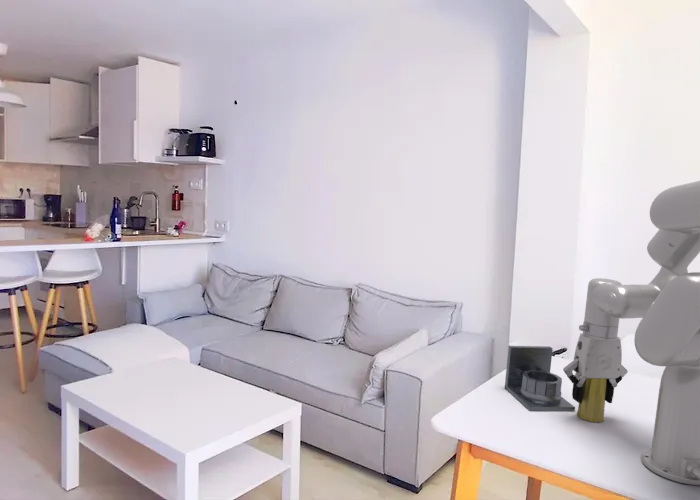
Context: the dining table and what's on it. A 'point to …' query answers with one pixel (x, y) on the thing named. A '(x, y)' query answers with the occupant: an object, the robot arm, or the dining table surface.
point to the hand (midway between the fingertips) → (592, 400)
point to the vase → (593, 400)
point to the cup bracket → (534, 379)
